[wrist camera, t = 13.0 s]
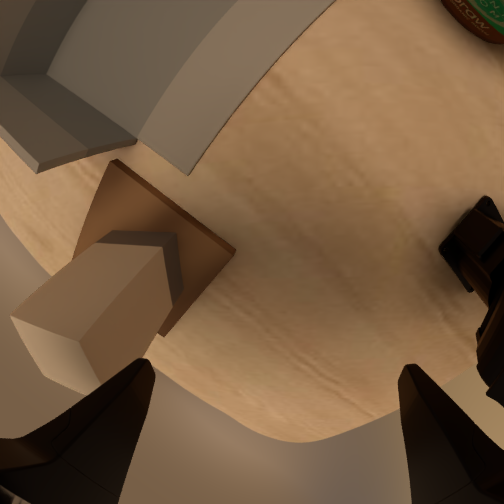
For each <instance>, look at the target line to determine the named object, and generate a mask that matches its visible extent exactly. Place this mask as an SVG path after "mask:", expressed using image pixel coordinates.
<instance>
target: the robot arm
mask: <svg viewBox="0 0 504 504" xmlns="http://www.w3.org/2000/svg"><path fill="white" fill-rule="evenodd" d="M487 201H488V203H487V204H486V202H487ZM445 248H446V250H445V251H444V249H445ZM439 252H440V254H441V255H442V256H443V257H444V259H445V260H446V262H447V263H448V264H449V266H450V267H451V268H452V270H453V271H454V272H455V274H456V275H457V277H458V278H459V280H460V281H461V282H462V284H463V285H464V287H465V288H466V290H467V291H468V292H469V293H471V292H473V291H474V290H475V291H476V293H477V294H478V295H479V297H480V298H481V299H482V301H483V302H484V303H485V305H486V306H487V307H488V309H489V310H488V312H487V314H486V316H485V318H484V321H483V323H482V325H481V327H479V328H478V330H477V332H476V339H477V345H478V346H477V350H476V352H477V359H478V364H477V370H478V372H479V374H480V376H481V378H482V379H483V381H484V382H485V384H486V385H487V386H488V387H489V389H488V391H487V392H486V395H487V396H488V397H490V398H492V399H494V400H495V401H497V402H498V403H500V404H501V405H502V406H503V407H504V221H503V219H502V217H501V215H500V214H499V212H498V210H497V208H496V206H495V204H494V202H493V200H492V199H491V198H490V197H488V196H484V197H483V198H482V199H481V201H480V202H479V203H478V204H477V205H476V207H475V208H474V209H473V210H472V211H471V212H470V213H469V215H468V216H467V217H466V218H465V219H464V220H463V221H462V222H461V224H460V225H459V226H458V227H457V228H456V229H455V230H454V231H453V233H452V234H451V235H450V236H449V237H448V238H447V239H446V240H445V241H444V242H443V243H442V244H441V245H440V247H439ZM470 287H471V288H470ZM154 382H155V372H154V370H153V367H152V365H151V363H150V361H149V360H148V359H144V358H137V359H136V360H134V361H133V362H132V363H130V364H129V365H128V366H126V367H125V368H124V369H122V370H121V371H119V372H118V373H117V374H115V375H114V376H113V377H111V378H110V379H109V380H107V381H106V382H105V383H103V384H102V385H101V386H99V387H98V388H97V389H95V390H94V391H92V392H91V393H90V394H88V395H87V396H86V397H84V398H83V399H82V400H80V401H79V402H78V403H76V404H75V405H73V406H72V407H71V408H69V409H68V410H66V411H65V412H64V413H62V414H61V415H59V416H58V417H56V418H55V419H53V420H52V421H50V422H48V423H47V424H45V425H43V426H42V427H40V428H38V429H36V430H34V431H33V432H31V433H29V434H27V435H25V436H23V437H20V438H15V439H6V438H0V504H118V502H119V497H120V494H121V491H122V488H123V485H124V481H125V478H126V475H127V472H128V469H129V466H130V463H131V460H132V457H133V453H134V450H135V447H136V444H137V442H138V439H139V436H140V433H141V430H142V427H143V424H144V421H145V418H146V415H147V412H148V408H149V404H150V400H151V395H152V391H153V386H154ZM398 392H399V402H400V415H401V424H402V430H403V436H404V442H405V449H406V455H407V462H408V470H409V478H410V488H411V498H412V504H504V450H503V449H501V448H500V447H499V446H498V445H497V444H496V443H494V442H493V441H492V440H491V439H490V438H489V437H488V436H487V435H486V434H485V433H484V432H483V431H482V430H481V429H480V428H479V427H478V426H477V425H476V424H475V423H474V422H473V421H472V420H471V419H470V417H468V415H467V414H466V413H465V412H464V411H463V410H462V409H461V408H460V407H459V406H458V405H457V404H456V403H455V402H454V401H453V400H452V399H451V398H450V397H449V396H448V395H447V394H446V393H445V392H444V391H443V390H442V389H441V388H440V387H439V386H438V385H437V384H436V383H435V382H434V381H433V380H432V379H431V378H430V377H429V376H428V375H427V374H426V373H425V372H424V371H423V370H422V369H421V368H420V367H419V366H418V365H417V364H407V365H405V366H404V368H403V370H402V372H401V375H400V377H399V379H398Z"/></svg>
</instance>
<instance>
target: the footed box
mask: <svg viewBox="0 0 504 504" xmlns="http://www.w3.org/2000/svg"><path fill="white" fill-rule="evenodd" d="M183 290H184V287H183V280H182V273H181V266H180V259H179V251H178V243H177V235H176V233H172V232H148V231H121V230H112V231H110V232H109V233H108V234H106V235H105V236H104V237H102V238H101V239H99V240H98V241H97V242H95V243H94V244H93V245H91V246H90V247H89V248H87V249H86V250H85V251H84V252H82V253H81V254H80V255H78V256H77V257H76V258H75V259H73V260H72V261H71V262H70V263H68V264H67V265H66V266H65V267H63V268H62V269H61V270H60V271H58V272H57V273H56V274H55V275H54V276H52V277H51V278H50V279H49V280H48V281H47V282H45V283H44V284H43V285H42V286H41V287H40V288H38V289H37V290H36V291H35V292H34V293H33V294H32V295H30V296H29V297H28V298H27V299H26V300H25V301H24V302H23V303H22V304H21V305H19V306H18V307H17V308H16V309H15V310H14V311H13V312H12V313H11V314H10V317H11V319H12V321H13V323H14V325H15V327H16V329H17V331H18V333H19V335H20V337H21V338H22V340H23V342H24V344H25V346H26V347H27V349H28V351H29V352H30V354H31V356H32V357H33V359H34V361H35V362H36V364H37V366H38V367H39V369H40V370H41V372H42V373H43V375H44V376H45V377H47V378H49V379H51V380H53V381H55V382H57V383H59V384H61V385H63V386H66V387H68V388H70V389H72V390H74V391H77V392H79V393H82V394H84V395H86V396H87V395H88V394H90V393H91V392H92V391H94V390H95V389H97V388H98V387H99V386H101V385H102V384H103V383H105V382H106V381H107V380H109V379H110V378H111V377H113V376H114V375H115V374H117V373H118V372H119V371H121V370H122V369H124V368H125V367H126V366H128V365H129V364H130V363H132V362H133V361H134V360H136V359H137V358H143V356H144V354H145V353H146V351H147V349H148V347H149V346H150V344H151V342H152V341H153V339H154V337H155V336H156V334H157V332H158V331H159V329H160V327H161V326H162V324H163V322H164V321H165V319H166V317H167V316H168V314H169V312H170V311H171V309H172V308H173V306H174V304H175V303H176V301H177V299H178V298H179V296H180V295H181V293H182V291H183Z"/></svg>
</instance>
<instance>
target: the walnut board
mask: <svg viewBox="0 0 504 504" xmlns="http://www.w3.org/2000/svg"><path fill="white" fill-rule="evenodd" d="M112 230H121V231H148V232H172V233H176V235H177V243H178V251H179V259H180V266H181V273H182V280H183V287H184V290H183V291H182V293H181V295H180V296H179V298H178V299H177V301H176V303H175V304H174V306H173V308H172V309H171V311H170V312H169V314H168V316H167V317H166V319H165V321H164V322H163V324H162V326H161V327H160V329H159V331H158V332H157V333H158V334H160V335H161V336H163V337H165V336H166V334H167V333H168V332H169V331H170V330H171V329H172V327H173V326H174V325H175V324H176V323H177V321H178V320H179V319H180V318H181V317H182V315H183V314H184V313H185V312H186V311H187V310H188V308H189V307H190V306H191V305H192V304H193V303H194V301H195V300H196V299H197V298H198V297H199V295H200V294H201V293H202V292H203V291H204V290H205V288H206V287H207V286H208V285H209V284H210V283H211V281H212V280H213V279H214V278H215V277H216V276H217V274H218V273H219V272H220V271H221V270H222V269H223V267H224V266H225V265H226V264H227V263H228V262H229V260H230V259H231V258H232V257H233V256H234V253H235V251H236V249H234V248H233V247H232V246H230V245H229V244H228V243H226V242H225V241H224V240H222V239H221V238H220V237H218V236H217V235H216V234H214V233H213V232H212V231H211V230H209V229H208V228H207V227H205V226H204V225H203V224H201V223H200V222H199V221H197V220H196V219H195V218H193V217H192V216H191V215H190V214H188V213H187V212H186V211H184V210H183V209H182V208H180V207H179V206H178V205H176V204H175V203H174V202H173V201H171V200H170V199H169V198H167V197H166V196H165V195H163V194H162V193H161V192H160V191H158V190H157V189H156V188H154V187H153V186H152V185H150V184H149V183H148V182H147V181H145V180H144V179H143V178H141V177H140V176H139V175H137V174H136V173H135V172H134V171H132V170H131V169H130V168H128V167H127V166H126V165H125V164H123V163H122V162H121V161H119V160H118V159H115V160H112V161H110V162H109V164H108V166H107V169H106V171H105V173H104V175H103V177H102V180H101V182H100V184H99V187H98V189H97V191H96V194H95V196H94V199H93V201H92V204H91V206H90V209H89V211H88V214H87V217H86V219H85V222H84V225H83V228H82V230H81V233H80V236H79V239H78V242H77V245H76V248H75V252H74V255H73V258H72V260H73V259H75V258H76V257H77V256H78V255H80V254H81V253H82V252H84V251H85V250H86V249H87V248H89V247H90V246H91V245H93V244H94V243H95V242H97V241H98V240H99V239H101V238H102V237H104V236H105V235H106V234H108V233H109V232H110V231H112Z"/></svg>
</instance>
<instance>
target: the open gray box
mask: <svg viewBox="0 0 504 504" xmlns="http://www.w3.org/2000/svg"><path fill="white" fill-rule="evenodd" d="M335 1H336V0H0V137H1V138H2V139H3V140H4V141H5V142H6V143H7V144H8V145H9V146H10V148H11V149H12V150H13V151H14V152H15V153H16V154H17V155H18V156H19V157H20V158H21V159H22V160H23V161H24V162H25V163H26V164H27V165H28V166H29V167H30V168H31V169H32V170H33V171H34V172H35V173H36V174H38V173H40V172H43V171H46V170H49V169H52V168H54V167H57V166H60V165H63V164H66V163H69V162H72V161H76V160H79V159H82V158H85V157H89V156H92V155H96V154H99V153H103V152H106V151H110V150H114V149H118V148H122V147H126V146H130V145H134V144H136V142H137V140H140V141H141V142H143V143H144V144H145V145H147V146H148V147H149V148H151V149H152V150H153V151H155V152H156V153H158V154H159V155H160V156H162V157H163V158H164V159H166V160H167V161H168V162H170V163H171V164H172V165H174V166H175V167H176V168H178V169H179V170H180V171H182V172H183V173H184V174H186V175H187V176H188V175H189V174H190V172H191V171H192V170H193V168H194V167H195V165H196V164H197V162H198V161H199V159H200V158H201V156H202V155H203V154H204V152H205V151H206V149H207V148H208V147H209V145H210V144H211V142H212V141H213V140H214V138H215V137H216V136H217V134H218V133H219V131H220V130H221V129H222V127H223V126H224V125H225V123H226V122H227V121H228V120H229V118H230V117H231V116H232V114H233V113H234V112H235V110H236V109H237V108H238V107H239V105H240V104H241V103H242V102H243V100H244V99H245V98H246V97H247V95H248V94H249V93H250V92H251V90H252V89H253V88H254V87H255V86H256V84H257V83H258V82H259V81H260V80H261V78H262V77H263V76H264V75H265V74H266V73H267V71H268V70H269V69H270V68H271V67H272V66H273V64H274V63H275V62H276V61H277V60H278V59H279V58H280V57H281V55H282V54H283V53H284V52H285V51H286V50H287V49H288V48H289V47H290V46H291V45H292V43H293V42H294V41H295V40H296V39H297V38H298V37H299V36H300V35H301V34H302V33H303V32H304V31H305V30H306V29H307V28H308V27H309V26H310V25H311V24H312V23H313V22H314V21H315V20H316V19H317V18H318V17H319V16H320V15H321V14H322V13H323V12H324V11H325V10H326V9H327V8H328V7H329V6H330V5H331V4H332V3H333V2H335Z"/></svg>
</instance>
